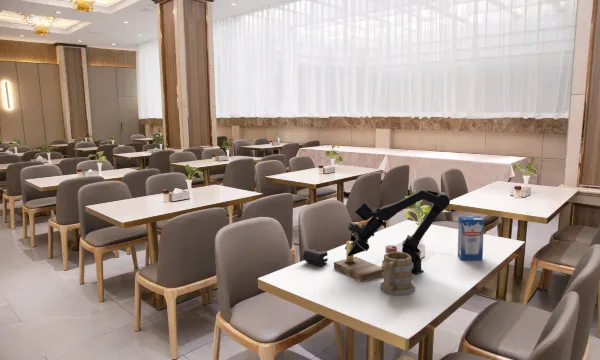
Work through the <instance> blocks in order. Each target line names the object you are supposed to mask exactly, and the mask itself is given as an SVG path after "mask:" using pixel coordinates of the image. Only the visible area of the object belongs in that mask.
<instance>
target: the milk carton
mask: <svg viewBox="0 0 600 360" xmlns="http://www.w3.org/2000/svg"><path fill="white" fill-rule="evenodd" d="M484 225H485V219H484V218H482V217H481V216H480V215H479V216H473V215H471V216H468V215H467V216H458V227H457V228H458V230H457V232H458V233H457V235H458V236H457V257H458V259H459V260H460V261H463V262H464V261H470V262H471V261H473V262H474V261H476V262H477V261H481V262H482V261H483V257H484V255H483V253H484V229H485V228H484V227H485V226H484Z"/></svg>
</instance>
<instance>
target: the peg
mask: <svg viewBox="0 0 600 360" xmlns="http://www.w3.org/2000/svg"><path fill="white" fill-rule="evenodd" d="M345 247H346V249H345V250H346V253H345V254H346V259H347V264H348V265H352V264H354V257H355V256H354V255H355V254H354V255H352V256H348V253H349V252H350V250H351V249H352V248H353V241H349V240H347V241H346V244H345Z"/></svg>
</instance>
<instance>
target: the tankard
mask: <svg viewBox="0 0 600 360" xmlns="http://www.w3.org/2000/svg"><path fill="white" fill-rule="evenodd" d="M380 267H382V269H384V272H382V276H381V278H382V279H383V281H382V282H381V283H380V288H381V290H382V291H383V293H384V294H385V293H386V294H390V295H393V296H408V295H410V294H412V293H414V291H415V290H416V286H415V285H414V284H413V283H412V281H413V280H414V274H412V269H413V262H412V257H411V256H410V255H409V254H407V253H403V252H402V251H390V252H387V253H385V254H383V260H382V263H381V266H380Z"/></svg>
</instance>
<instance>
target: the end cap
mask: <svg viewBox="0 0 600 360" xmlns="http://www.w3.org/2000/svg"><path fill="white" fill-rule="evenodd" d="M325 257H326V258H325ZM302 258H303V260H304V261H305V262H306V263H308V264H312V265H314V266H319V267H324V266H326V264H327V265H328V262H329V261H328V260H329V259H328V251H326V250H321V251H319V249H317V248H311V249H308V248H306V249H305V250H304V252H303V255H302Z"/></svg>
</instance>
